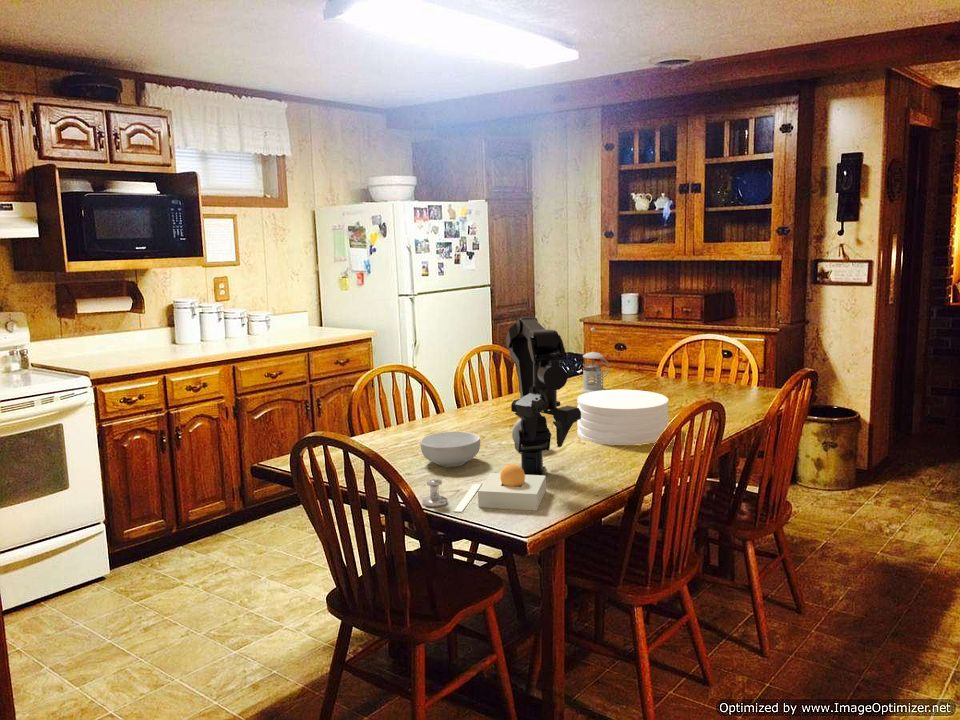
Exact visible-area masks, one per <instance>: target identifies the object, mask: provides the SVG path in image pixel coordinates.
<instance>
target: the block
mask: <svg viewBox="0 0 960 720" xmlns="http://www.w3.org/2000/svg"><path fill="white" fill-rule="evenodd" d="M500 474H501V472H499V473H498V472H497V473H496V472H490V473H489V475H488V477H487V478H485V480H484V482H483V483H482V484H481V486H480V488H479V489H478V491H477V498H478V499H477V503H478V508H490V509H501V510H502V509H503V510H519V511H520V510H522V511H538V509H539V506H540V505H541V502H542V500H543V499H544V496H545V494H546V492H547V481H546V480H547V476H546V475H525V480H524V483H523V484H522V486H520V487H513V486H504V485H503V484H502V482H501V479H500Z"/></svg>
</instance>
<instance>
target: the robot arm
mask: <svg viewBox="0 0 960 720" xmlns="http://www.w3.org/2000/svg"><path fill="white" fill-rule="evenodd" d="M505 339H506V340H505V343H506V348H507V349H508V351H509V352H508V353H509V356H510V357H511V359H512V360H513V362H514V363H515V364H516V370H517V378H518V380H517V381H518V387H519V395H520V398H518V399H514V400H512V403H511V405H510V407H511V408H510V409H511V412H512V413H514V415H515V416H517V417H518V418H519V419H520V418H521V420H520V422H519V425H518V430H517V433H516V436H515V440H514V441H513V442H514V449H515V450H516V451H517V453H519V454H521V455H520V458H521V460H520V461H521V465H520V467H521V468H522V469H523V471H524V473H525V475H543V474H544V473H545V471H546V469H547V468H546V466H544V465H543V464H544V463H543V462H544V461H543V457H544V456H543V454H544V451H546V452H547V451H549V450H550V447H551V446H550V445H551V438H552V433H551V431H550V428H549V427H548V423H547V418H546V417H545V416H544V415H542V414H546V415H551V416H552V417H553V419H554V421H552V424H553V425H554V427H555V428H556V447H557V448H561V447H562V446H563V444H564V442H565V440H566V438H567V436H568V433H569V432H570V429H571V427H572V426H573V425H574V423H577V422H578V420H579V419H581V410H580V409H579V408H577V406H572V405H565V406H562V407H560V406H561V401H558V399H557V398H558V397H557V396H558V393H557V392H558V391H559V390H561V389H562V388H564V386H566V384H567V381H568V373H567V371H566V369H564V367H562V366H560V361H565V360H566V354H567V353H566V348H565V345H564V342H563V341H564V340H563V339H562V337H561V335H560V334H559V333H558V331H557V330H555V329H546V328H545V327H543V325H541V323H540V322H538V318H537V317H533V316H531V317H519V318H518V319H517V320H516V323H515V324H513V325H512V326H510V327H509V328H508V330H507V334H506V337H505ZM541 413H542V414H541ZM521 444H522V445H521ZM543 476H544V475H543Z"/></svg>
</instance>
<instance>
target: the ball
mask: <svg viewBox="0 0 960 720" xmlns="http://www.w3.org/2000/svg"><path fill="white" fill-rule="evenodd" d="M500 473H501V474H500V479H501V482H502V484H503V485H504V486H513V487H520V486H522V484H523V483H524V480H525V473H524V471H523V469H522V468H521V465H519V464H514V463H512V464H507V465H505V466H504V467H503V469H502V470H501V471H500Z"/></svg>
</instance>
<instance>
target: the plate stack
mask: <svg viewBox="0 0 960 720" xmlns="http://www.w3.org/2000/svg"><path fill="white" fill-rule="evenodd" d="M576 401H577V404H578V405H577V406H576V407H577V408H579V409H580V410H581V419H579V420H577V422H576V423H577V425H576V426H577V436H578V437H579V438H580V439H582V440H584V441H586V440H587V442H590V443H593V442H594V444H598V443H599V444H600V445H604V444H608V445H607V446H614V445H635V444H643V443H652V442H653V444H656V443H655V441H656V440H657V439H658V437H659V436H660V434H661V433H662V432H663V431H664V429H665V428H666V427H667V425H668V426H669V404H670V403H669V401H670V400H669V398H668V397H667V396H666V395H664V394H661V393H658V392H654V391H647V390H646V391H645V390H639V389H605V390H601V391H593V392H584V393H581V395H579V396H578V397H577V399H576Z"/></svg>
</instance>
